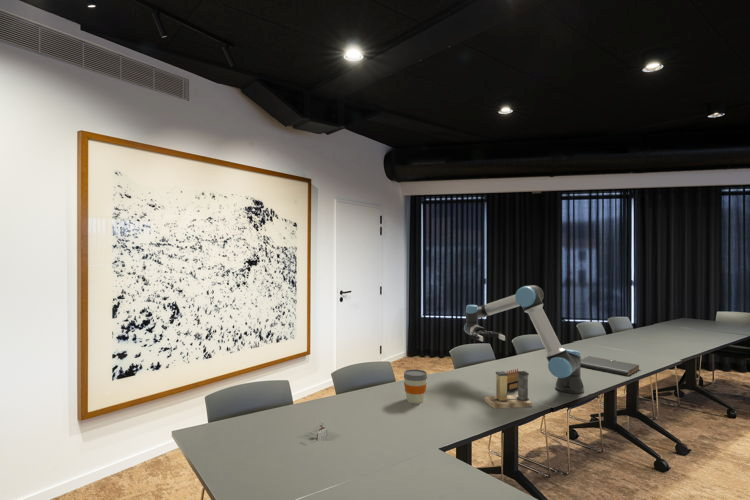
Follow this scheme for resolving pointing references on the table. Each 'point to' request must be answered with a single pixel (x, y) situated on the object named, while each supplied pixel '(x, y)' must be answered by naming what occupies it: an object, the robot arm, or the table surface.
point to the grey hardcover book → (609, 365)
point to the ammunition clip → (512, 380)
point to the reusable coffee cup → (415, 385)
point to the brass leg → (501, 386)
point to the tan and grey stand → (513, 400)
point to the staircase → (320, 432)
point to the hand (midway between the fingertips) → (493, 338)
